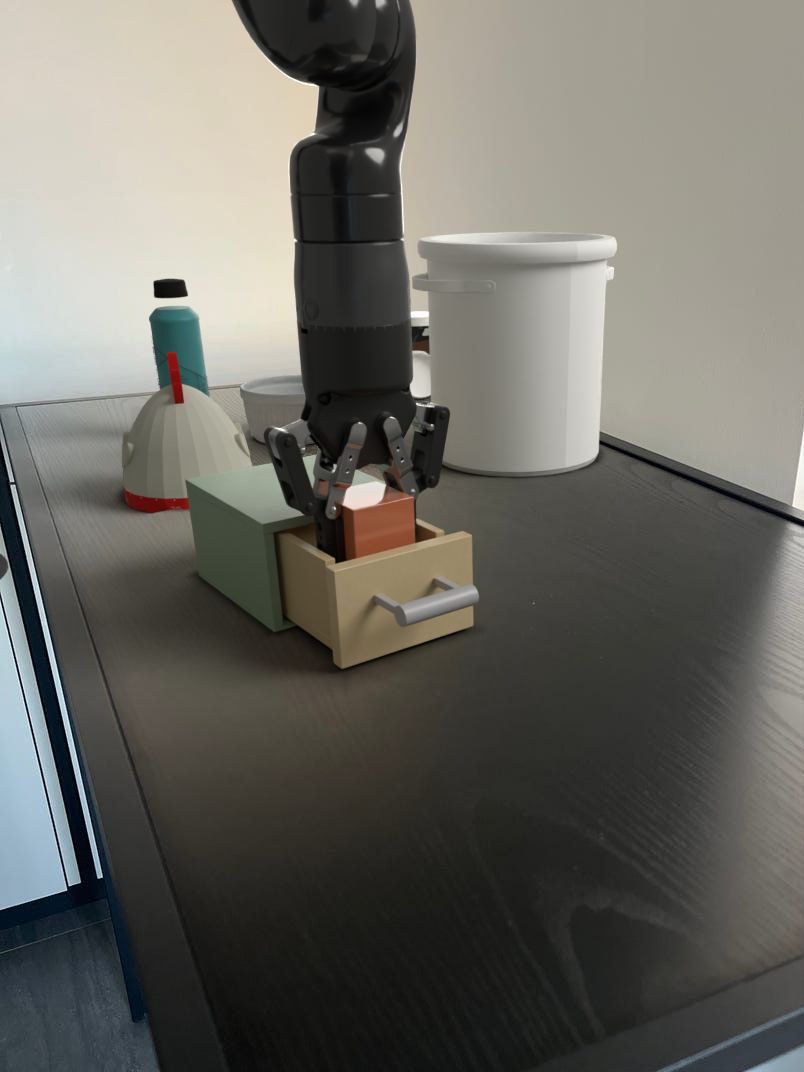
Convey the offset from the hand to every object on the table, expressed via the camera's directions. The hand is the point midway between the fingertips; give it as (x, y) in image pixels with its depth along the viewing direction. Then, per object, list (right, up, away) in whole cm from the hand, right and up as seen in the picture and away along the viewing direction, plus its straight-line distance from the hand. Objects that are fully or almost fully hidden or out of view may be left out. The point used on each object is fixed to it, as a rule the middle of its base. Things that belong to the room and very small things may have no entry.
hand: (368, 554), depth 71 cm
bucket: (+13, +16, +48) cm, 52 cm away
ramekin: (-17, +21, +59) cm, 64 cm away
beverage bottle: (-31, +21, +59) cm, 70 cm away
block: (0, 0, 0) cm, 0 cm away
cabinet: (-7, -2, +11) cm, 13 cm away
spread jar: (-1, +33, +84) cm, 90 cm away
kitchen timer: (-24, +10, +36) cm, 44 cm away
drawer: (0, -5, +2) cm, 6 cm away
